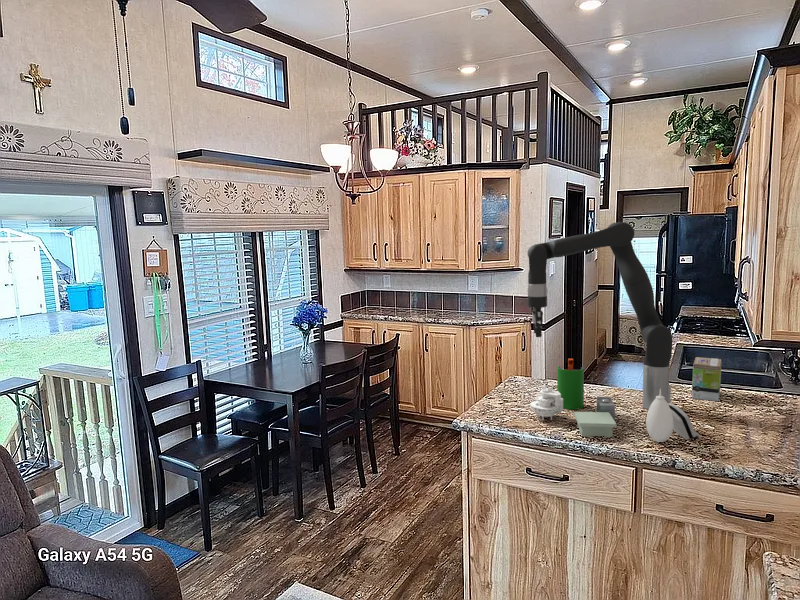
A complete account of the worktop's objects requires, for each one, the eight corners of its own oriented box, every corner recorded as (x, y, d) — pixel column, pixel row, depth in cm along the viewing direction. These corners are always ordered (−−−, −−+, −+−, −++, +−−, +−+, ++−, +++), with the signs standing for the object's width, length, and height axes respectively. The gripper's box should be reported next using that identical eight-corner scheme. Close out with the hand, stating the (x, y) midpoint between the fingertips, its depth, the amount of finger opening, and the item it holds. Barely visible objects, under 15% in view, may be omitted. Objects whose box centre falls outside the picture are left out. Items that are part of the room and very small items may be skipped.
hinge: (701, 439, 177) (691, 411, 176) (687, 444, 178) (678, 417, 177) (676, 421, 194) (667, 396, 193) (663, 426, 194) (654, 401, 193)
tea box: (719, 401, 215) (720, 365, 213) (691, 398, 220) (692, 363, 218) (720, 392, 227) (721, 358, 226) (693, 389, 233) (694, 356, 231)
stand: (608, 425, 192) (608, 412, 192) (616, 438, 181) (616, 423, 180) (573, 424, 194) (574, 411, 194) (579, 437, 183) (579, 423, 182)
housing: (610, 416, 202) (610, 396, 202) (614, 424, 194) (614, 403, 193) (596, 415, 204) (596, 396, 203) (600, 424, 195) (600, 403, 194)
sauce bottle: (655, 435, 182) (656, 383, 180) (677, 442, 175) (678, 389, 173) (641, 440, 178) (642, 388, 176) (663, 448, 171) (664, 393, 169)
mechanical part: (524, 416, 206) (524, 386, 204) (549, 411, 210) (549, 382, 209) (543, 425, 195) (542, 393, 194) (569, 419, 200) (569, 389, 199)
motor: (581, 402, 220) (581, 355, 217) (586, 409, 211) (586, 360, 208) (555, 402, 221) (555, 355, 218) (560, 409, 212) (560, 360, 209)
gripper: (549, 296, 205) (549, 338, 207) (545, 292, 219) (545, 331, 221) (529, 297, 206) (529, 338, 208) (526, 293, 220) (526, 332, 222)
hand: (537, 335), depth 214 cm, fingers open, 8 cm apart
